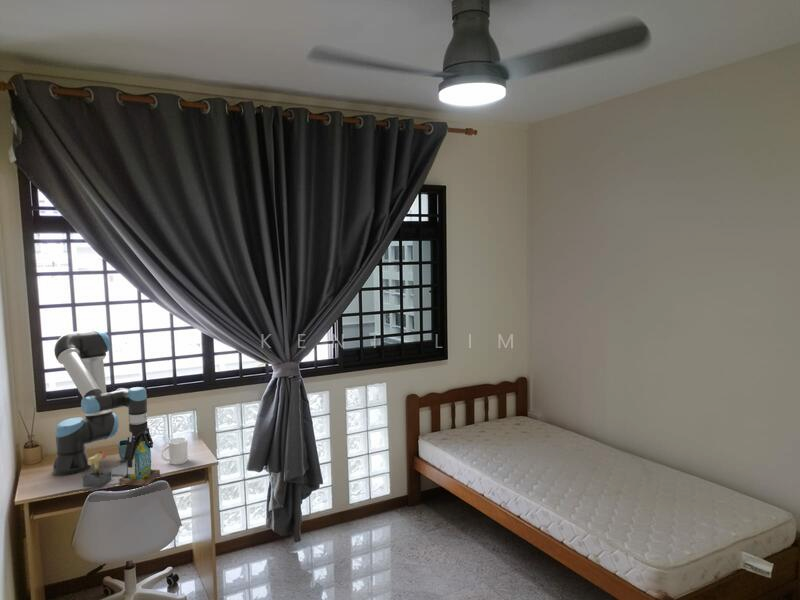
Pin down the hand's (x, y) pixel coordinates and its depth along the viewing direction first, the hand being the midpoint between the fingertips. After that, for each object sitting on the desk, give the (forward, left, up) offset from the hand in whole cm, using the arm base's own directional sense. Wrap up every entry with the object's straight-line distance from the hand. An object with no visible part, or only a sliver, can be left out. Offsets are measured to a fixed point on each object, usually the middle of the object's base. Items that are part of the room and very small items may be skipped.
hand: (139, 467), depth 252 cm
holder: (0, 0, -6) cm, 6 cm away
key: (-17, -5, -1) cm, 18 cm away
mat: (-11, +10, -6) cm, 16 cm away
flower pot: (-18, +22, -6) cm, 29 cm away
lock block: (-17, -5, -6) cm, 19 cm away
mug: (+6, +21, -6) cm, 23 cm away
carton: (0, 0, -6) cm, 6 cm away
